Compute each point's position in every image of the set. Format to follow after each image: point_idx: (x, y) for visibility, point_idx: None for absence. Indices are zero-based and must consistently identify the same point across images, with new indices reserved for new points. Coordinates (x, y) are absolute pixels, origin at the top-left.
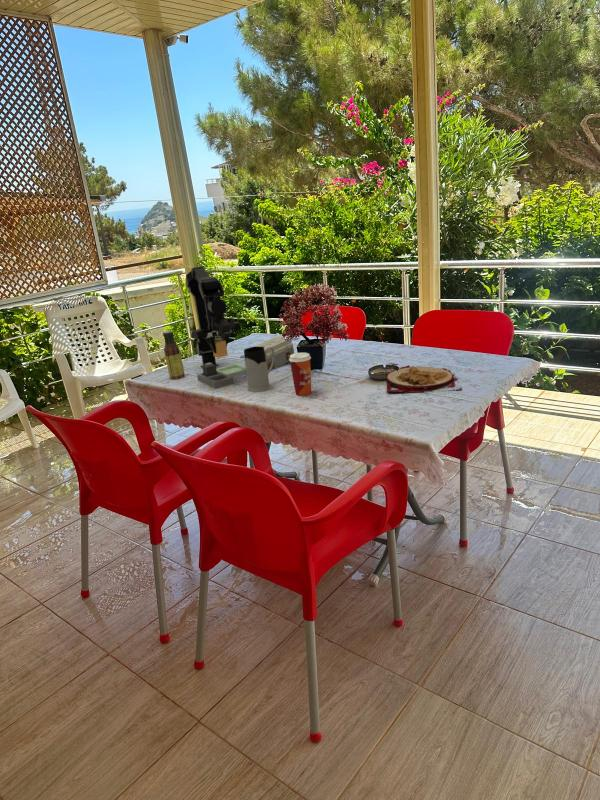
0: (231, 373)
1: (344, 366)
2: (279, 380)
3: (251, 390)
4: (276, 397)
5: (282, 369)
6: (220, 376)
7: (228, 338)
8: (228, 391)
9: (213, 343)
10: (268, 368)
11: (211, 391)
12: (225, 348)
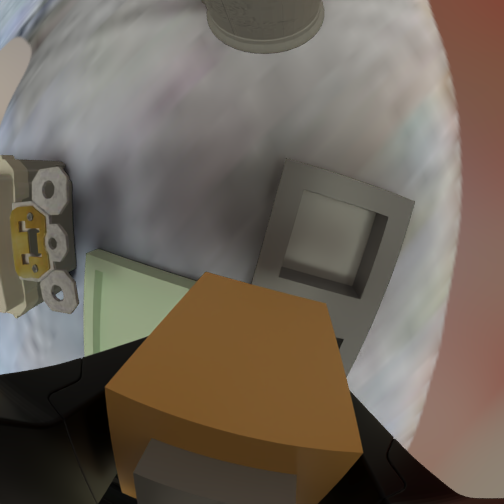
0: (187, 287)
1: (4, 14)
2: (140, 17)
3: (321, 4)
4: None
5: (31, 138)
6: (291, 278)
7: (21, 376)
8: (382, 110)
9: (390, 465)
10: (52, 161)
11: (419, 204)
12: (192, 315)
